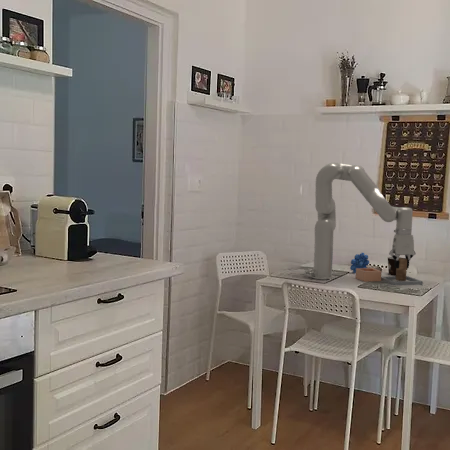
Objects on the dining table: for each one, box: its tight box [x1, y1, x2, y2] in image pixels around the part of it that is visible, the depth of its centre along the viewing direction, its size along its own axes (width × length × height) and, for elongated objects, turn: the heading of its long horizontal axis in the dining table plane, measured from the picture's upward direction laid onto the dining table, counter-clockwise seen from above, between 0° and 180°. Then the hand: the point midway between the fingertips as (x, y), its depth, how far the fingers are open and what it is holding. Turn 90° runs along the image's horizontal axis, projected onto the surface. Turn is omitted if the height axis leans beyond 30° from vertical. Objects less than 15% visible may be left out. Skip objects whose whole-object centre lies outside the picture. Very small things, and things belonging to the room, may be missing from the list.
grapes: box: [349, 252, 370, 274], centre depth 337 cm, size 12×7×12 cm, turn 111°
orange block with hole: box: [355, 267, 382, 283], centre depth 319 cm, size 9×9×6 cm
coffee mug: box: [387, 256, 402, 276], centre depth 335 cm, size 12×9×10 cm
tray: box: [381, 275, 424, 286], centre depth 315 cm, size 16×14×2 cm
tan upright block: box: [395, 257, 408, 282], centre depth 314 cm, size 5×5×11 cm
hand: (401, 267), depth 314 cm, fingers closed on tan upright block, 4 cm apart
